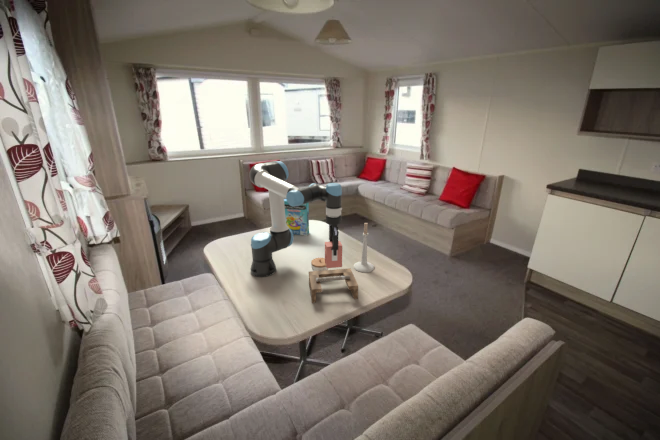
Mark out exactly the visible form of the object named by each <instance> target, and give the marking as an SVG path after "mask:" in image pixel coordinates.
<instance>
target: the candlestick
mask: <svg viewBox="0 0 660 440" xmlns="http://www.w3.org/2000/svg"><path fill="white" fill-rule="evenodd" d="M368 224H369V223H368V222H364V224H363V226H364V227H363V233H362V237H363V243H362V250H361V260H360V261H357V262H355V263H354V264H353V269H354V270H355V271H356V272H360V273H370V272H373V271H374V270H373V269H375V265H374V264H373V263H371V262H370V261H368V245H367V244H368V238H367V237H368V235H369V232H368Z"/></svg>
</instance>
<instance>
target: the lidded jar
mask: <svg viewBox="0 0 660 440" xmlns="http://www.w3.org/2000/svg"><path fill="white" fill-rule="evenodd" d="M310 264H311V270H312V271H323V270H329V268H326V264H325V257H315V258H313V259H312V260H311V263H310Z"/></svg>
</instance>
